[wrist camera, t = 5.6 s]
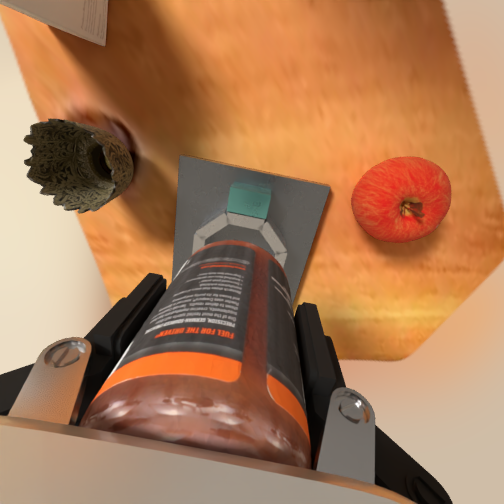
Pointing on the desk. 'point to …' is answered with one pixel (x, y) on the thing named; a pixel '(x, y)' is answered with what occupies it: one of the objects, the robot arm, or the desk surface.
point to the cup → (78, 164)
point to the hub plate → (215, 195)
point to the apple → (401, 199)
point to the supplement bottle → (215, 363)
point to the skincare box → (68, 16)
